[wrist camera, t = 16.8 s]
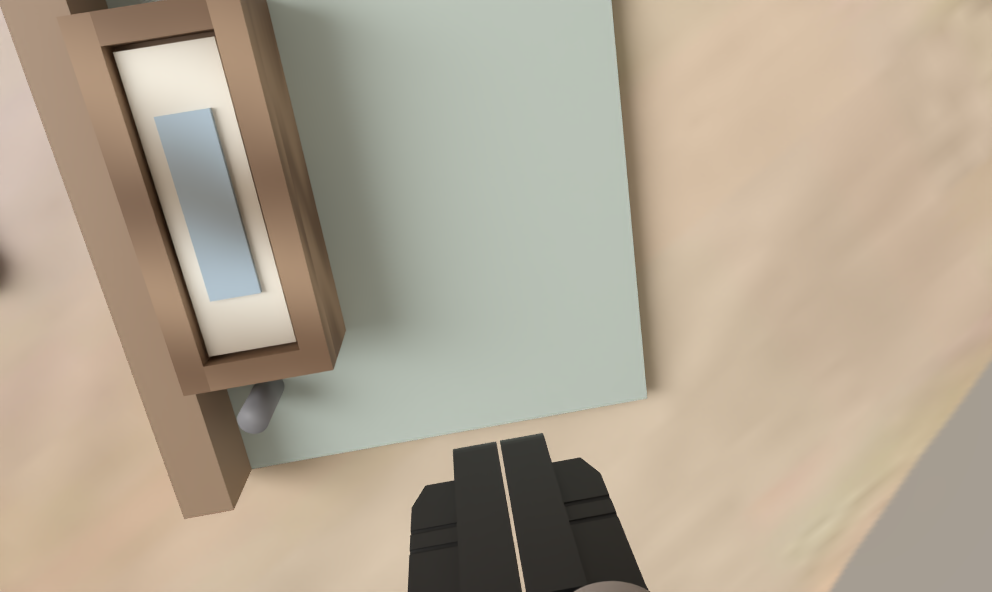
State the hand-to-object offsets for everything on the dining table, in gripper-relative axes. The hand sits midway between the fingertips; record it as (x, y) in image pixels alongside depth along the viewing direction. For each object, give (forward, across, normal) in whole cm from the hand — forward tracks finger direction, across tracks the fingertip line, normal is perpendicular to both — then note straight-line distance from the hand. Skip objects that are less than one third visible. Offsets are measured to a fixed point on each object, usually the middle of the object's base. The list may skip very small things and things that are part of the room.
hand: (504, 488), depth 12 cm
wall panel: (+19, +3, -3) cm, 19 cm away
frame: (+18, +8, -3) cm, 20 cm away
